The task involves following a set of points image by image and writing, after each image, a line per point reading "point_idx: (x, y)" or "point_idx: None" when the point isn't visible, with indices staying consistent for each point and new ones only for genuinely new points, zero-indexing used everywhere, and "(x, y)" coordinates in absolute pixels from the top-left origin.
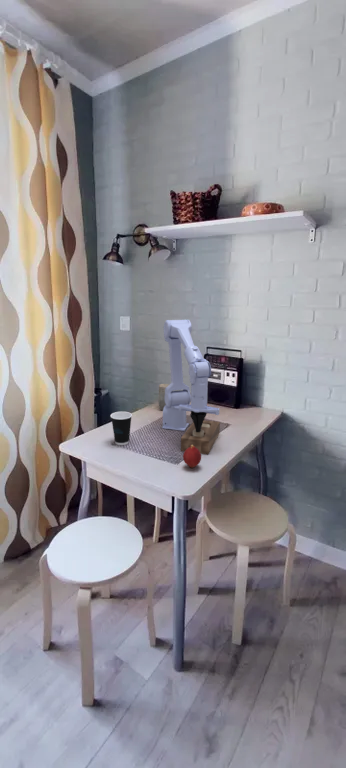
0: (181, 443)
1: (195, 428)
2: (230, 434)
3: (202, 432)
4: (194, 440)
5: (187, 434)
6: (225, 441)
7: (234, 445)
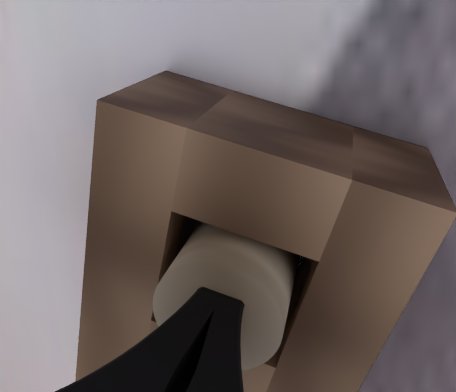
0: (437, 177)
1: (238, 329)
2: (52, 382)
3: (165, 281)
4: (273, 150)
5: (354, 302)
6: (66, 296)
7: (3, 234)
